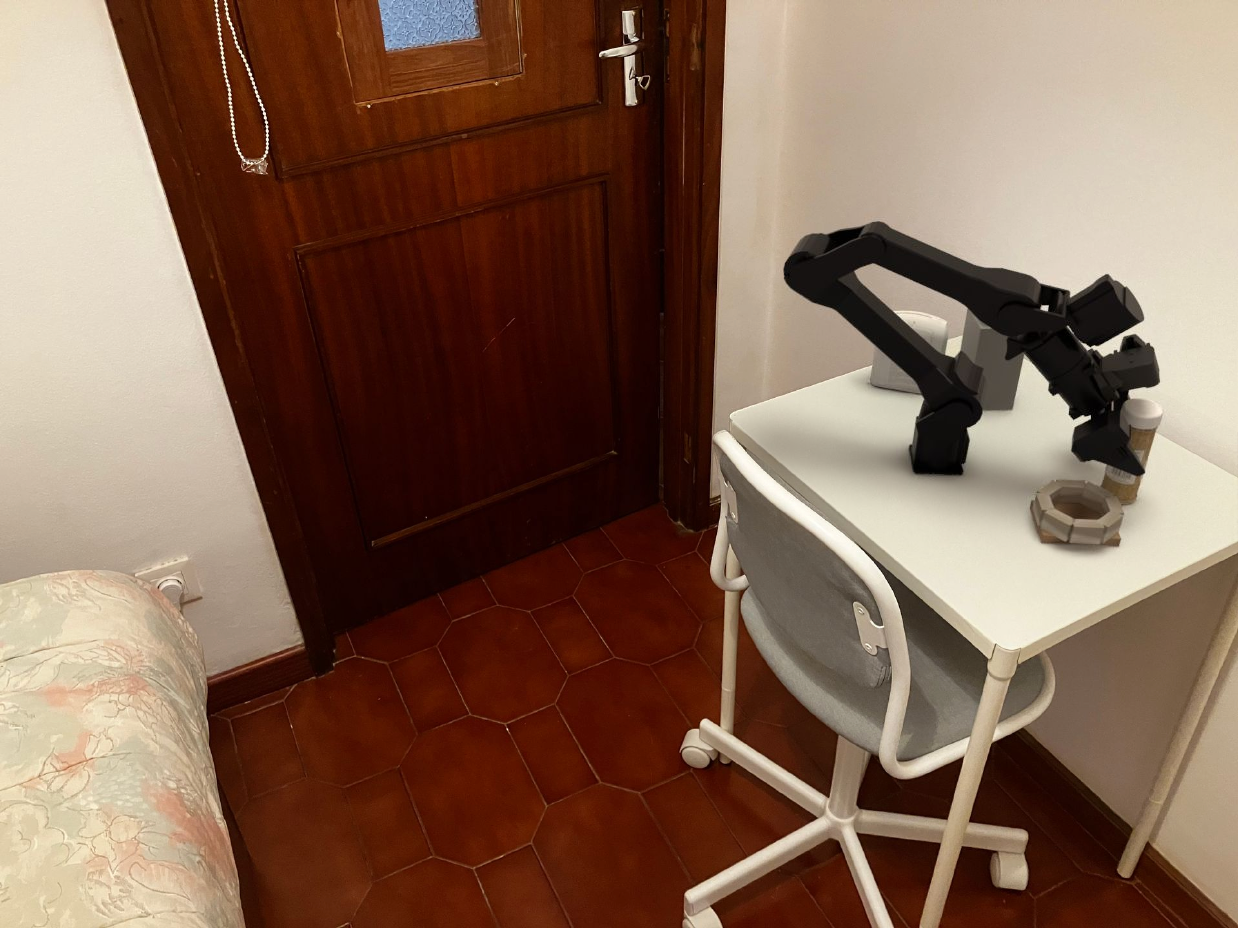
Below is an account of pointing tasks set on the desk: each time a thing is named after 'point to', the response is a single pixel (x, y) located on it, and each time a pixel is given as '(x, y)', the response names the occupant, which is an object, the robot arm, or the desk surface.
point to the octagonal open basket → (1077, 514)
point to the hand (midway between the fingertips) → (1141, 453)
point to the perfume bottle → (992, 362)
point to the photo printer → (888, 371)
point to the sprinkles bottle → (1134, 447)
